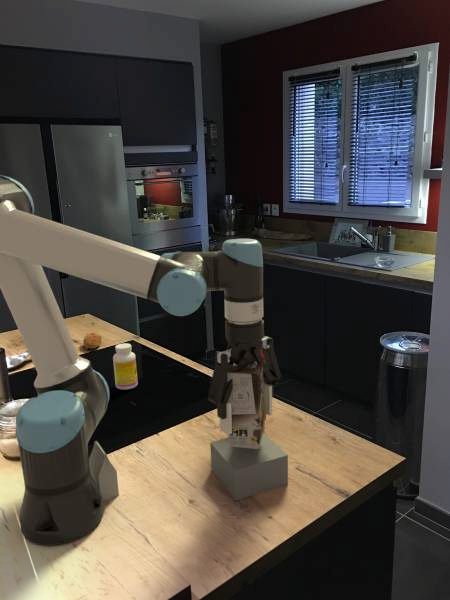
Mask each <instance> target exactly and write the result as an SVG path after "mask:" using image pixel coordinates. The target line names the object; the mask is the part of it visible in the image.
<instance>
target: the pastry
mask: <svg viewBox="0 0 450 600" xmlns="http://www.w3.org/2000/svg"><path fill="white" fill-rule="evenodd" d="M102 342H103V341H102V337H101V335H100V334H98V333H96V332H91V333H89V334H87V335H85V337H84V339H83V341H82V343H83V346H84V345H85V346H84V347H85V349H88V348H90V349H97V348H96V347H98V346H99V345H100V344H101V345H102ZM101 345H100V346H101ZM100 346H99V347H100ZM99 347H98V348H99Z"/></svg>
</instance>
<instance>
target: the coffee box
mask: <svg viewBox="0 0 450 600" xmlns="http://www.w3.org/2000/svg"><path fill="white" fill-rule="evenodd" d="M233 365H234V366H237V365H236V364H235V363H233ZM232 378H233V390H232V392H231V395H230V397H229V400H228V402H230V403H231V414H232V434H230V435H229V434H228V437H229V446H230V447H241V448H252V449H259V447H260V443H261V439H262V436H263V433H264V431H265V428H266V426H265V424H266V420H265V407H264V383H265V382H264V373H263V362H262V363H258V362H255V363H253V364H248V365H247V366H245V367H243V370H241V371H237V372H234V371H231V370H228V371H227V382H228V381H230V380H231V379H232Z"/></svg>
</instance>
